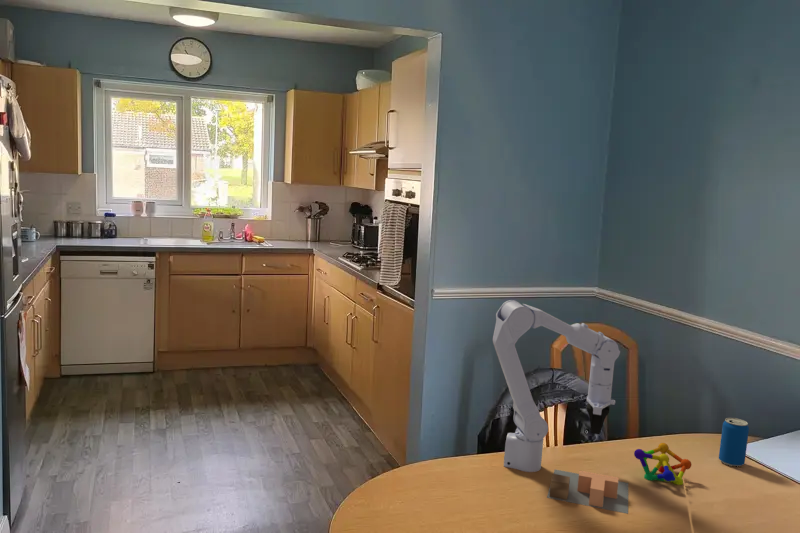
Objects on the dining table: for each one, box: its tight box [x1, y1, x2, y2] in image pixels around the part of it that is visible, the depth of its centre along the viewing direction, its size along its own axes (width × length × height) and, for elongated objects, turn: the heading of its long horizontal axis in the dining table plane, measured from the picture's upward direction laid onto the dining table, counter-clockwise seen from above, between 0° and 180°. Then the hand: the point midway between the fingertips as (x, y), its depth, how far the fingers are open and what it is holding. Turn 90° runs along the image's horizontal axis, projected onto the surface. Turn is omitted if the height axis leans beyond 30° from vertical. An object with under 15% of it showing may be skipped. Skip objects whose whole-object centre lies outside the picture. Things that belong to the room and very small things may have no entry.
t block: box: [577, 470, 619, 507], centre depth 159 cm, size 9×9×4 cm
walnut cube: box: [549, 473, 570, 500], centre depth 160 cm, size 4×4×4 cm
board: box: [546, 469, 629, 515], centre depth 163 cm, size 18×17×1 cm
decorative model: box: [633, 442, 692, 486], centre depth 174 cm, size 13×9×15 cm
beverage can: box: [718, 417, 750, 468], centre depth 187 cm, size 6×6×12 cm
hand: (595, 433), depth 177 cm, fingers closed
